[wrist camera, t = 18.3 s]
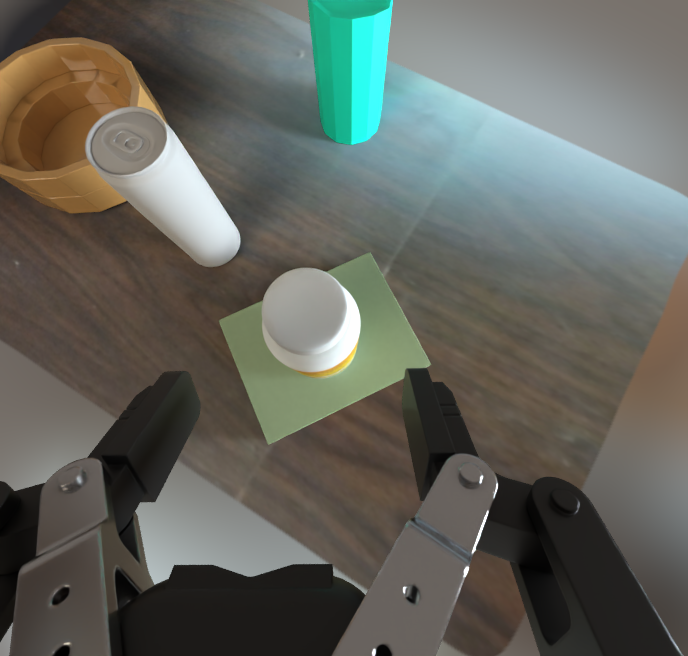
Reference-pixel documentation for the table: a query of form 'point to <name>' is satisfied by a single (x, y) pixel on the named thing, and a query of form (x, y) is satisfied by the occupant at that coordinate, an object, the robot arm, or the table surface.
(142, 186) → the beverage can
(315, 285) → the supplement bottle
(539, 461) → the table surface
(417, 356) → the book
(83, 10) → the table surface
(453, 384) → the table surface
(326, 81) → the candle
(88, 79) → the bowl
